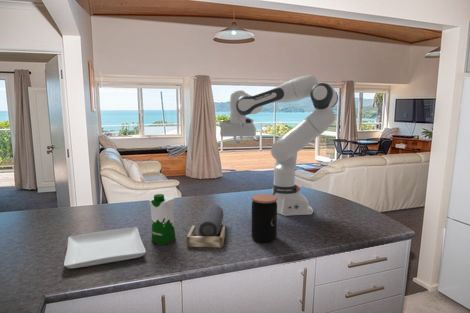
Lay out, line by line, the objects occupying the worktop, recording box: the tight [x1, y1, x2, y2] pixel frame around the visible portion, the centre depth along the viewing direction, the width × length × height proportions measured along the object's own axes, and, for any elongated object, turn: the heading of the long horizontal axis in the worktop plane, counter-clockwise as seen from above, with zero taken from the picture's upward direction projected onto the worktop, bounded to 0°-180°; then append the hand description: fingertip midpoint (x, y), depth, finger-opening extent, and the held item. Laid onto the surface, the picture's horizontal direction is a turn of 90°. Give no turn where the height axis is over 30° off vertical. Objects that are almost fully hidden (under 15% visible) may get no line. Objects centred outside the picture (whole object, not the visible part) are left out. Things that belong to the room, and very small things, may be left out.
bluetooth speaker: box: [198, 204, 224, 237], centre depth 144 cm, size 23×9×10 cm, turn 177°
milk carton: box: [148, 193, 176, 246], centre depth 135 cm, size 9×9×20 cm
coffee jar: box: [251, 193, 278, 244], centre depth 137 cm, size 11×11×18 cm
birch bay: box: [186, 225, 226, 248], centre depth 136 cm, size 14×13×4 cm
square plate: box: [63, 226, 147, 269], centre depth 126 cm, size 27×27×4 cm
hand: (238, 144), depth 186 cm, fingers closed
